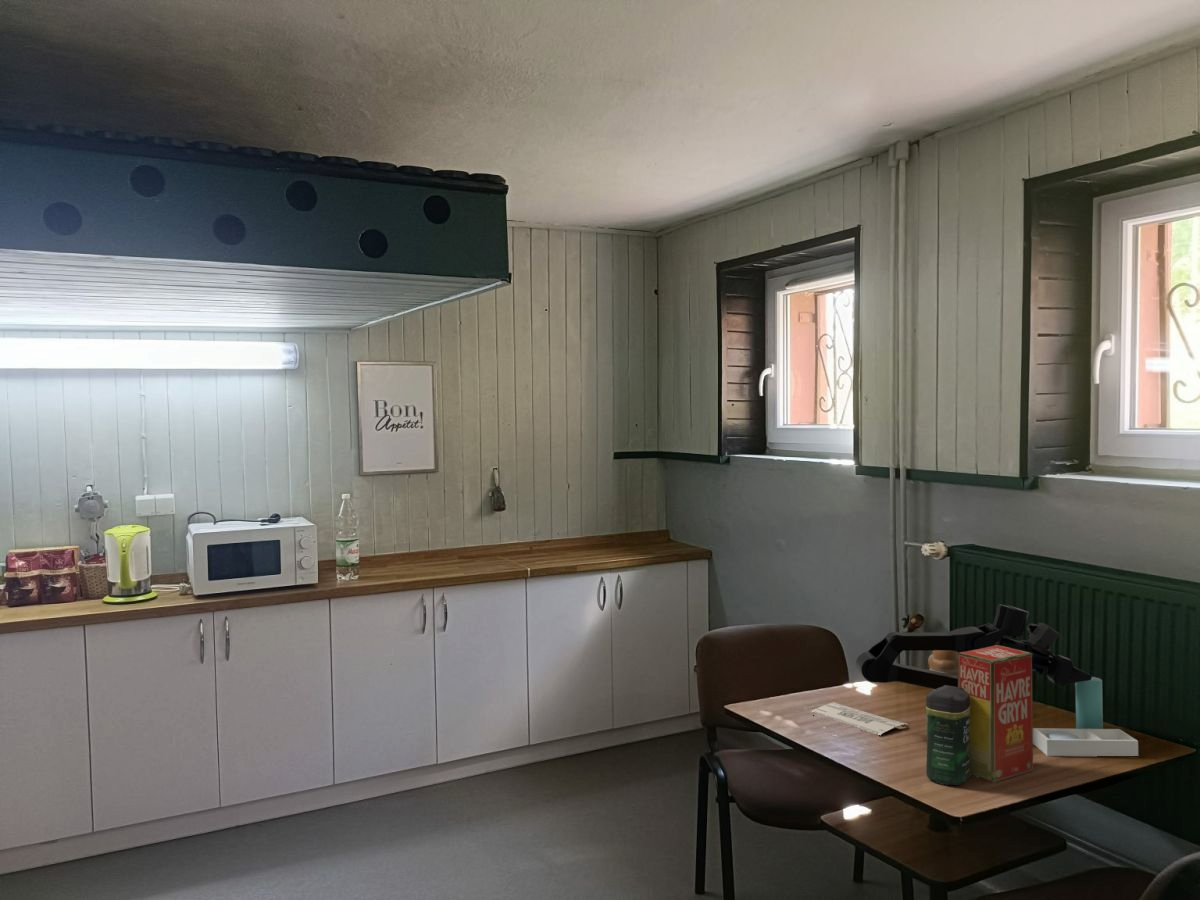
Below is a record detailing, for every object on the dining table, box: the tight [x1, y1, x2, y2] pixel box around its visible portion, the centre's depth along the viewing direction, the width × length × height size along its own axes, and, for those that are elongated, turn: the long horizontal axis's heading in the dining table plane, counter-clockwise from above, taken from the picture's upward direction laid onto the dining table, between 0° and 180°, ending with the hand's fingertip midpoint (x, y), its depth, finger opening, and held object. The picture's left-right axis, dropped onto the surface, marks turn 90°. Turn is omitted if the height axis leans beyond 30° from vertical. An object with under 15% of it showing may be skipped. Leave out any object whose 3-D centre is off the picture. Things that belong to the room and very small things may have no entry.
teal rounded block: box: [1074, 676, 1104, 729], centre depth 206 cm, size 6×6×13 cm
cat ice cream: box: [927, 650, 959, 690], centre depth 226 cm, size 9×8×18 cm
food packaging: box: [957, 645, 1034, 783], centre depth 185 cm, size 13×9×25 cm
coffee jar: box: [925, 685, 972, 786], centre depth 181 cm, size 10×8×19 cm
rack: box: [1033, 727, 1139, 757], centre depth 195 cm, size 19×8×4 cm, turn 85°
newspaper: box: [811, 701, 908, 736], centre depth 220 cm, size 23×12×2 cm, turn 35°
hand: (1081, 672), depth 206 cm, fingers open, 9 cm apart
